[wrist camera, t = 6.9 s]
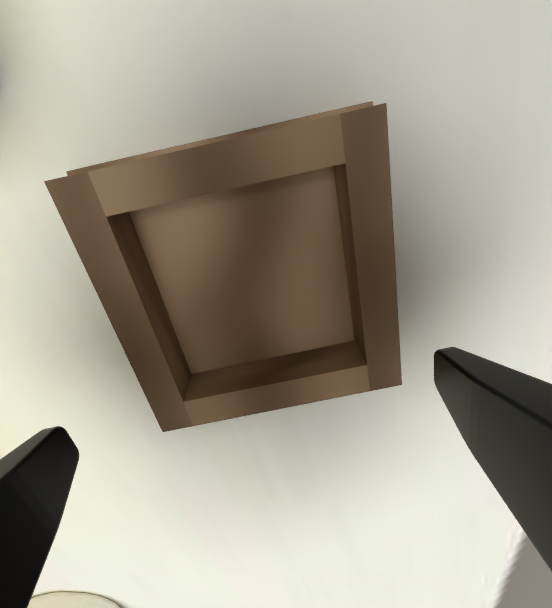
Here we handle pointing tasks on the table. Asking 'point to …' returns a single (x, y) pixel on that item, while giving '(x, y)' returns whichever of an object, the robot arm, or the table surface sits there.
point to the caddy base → (247, 264)
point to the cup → (71, 601)
